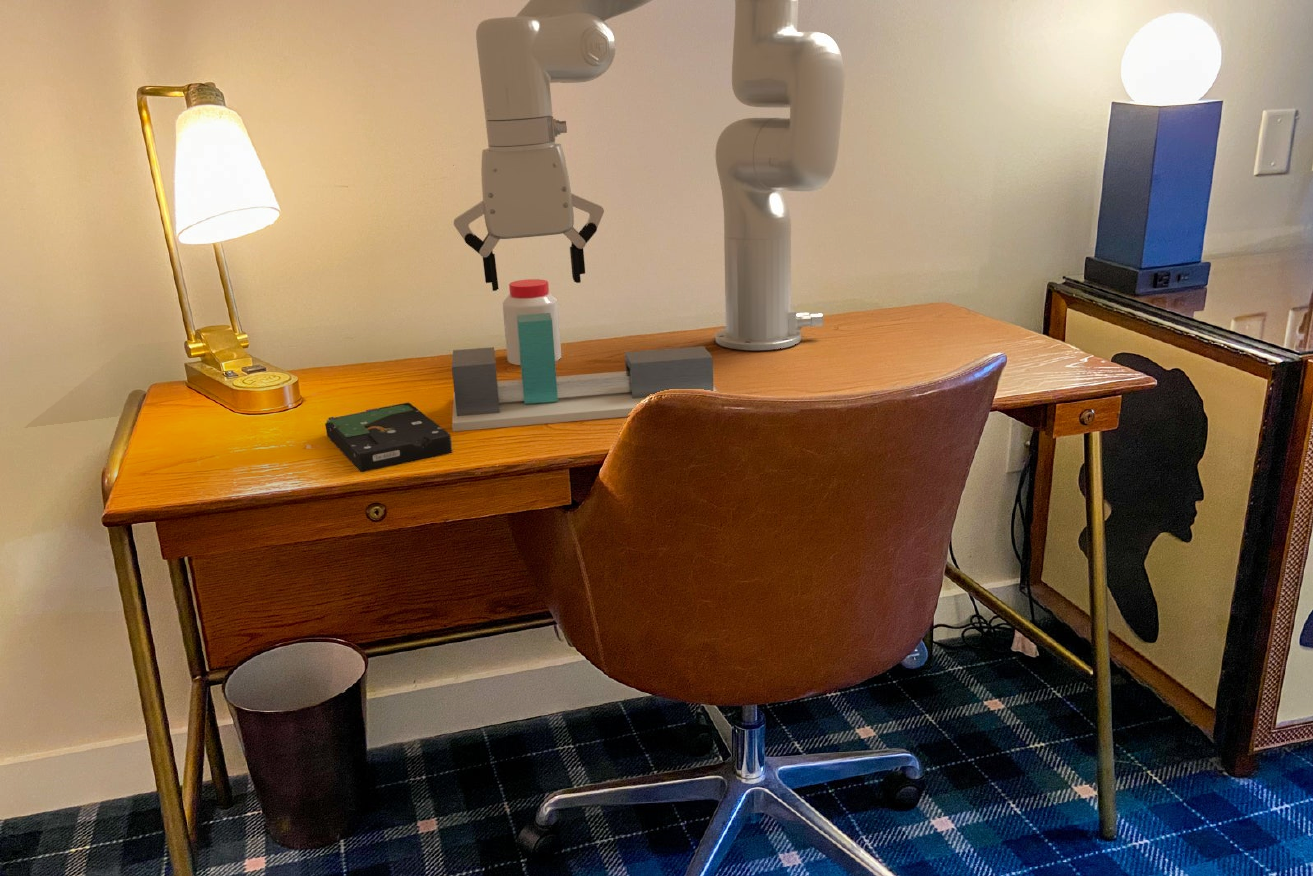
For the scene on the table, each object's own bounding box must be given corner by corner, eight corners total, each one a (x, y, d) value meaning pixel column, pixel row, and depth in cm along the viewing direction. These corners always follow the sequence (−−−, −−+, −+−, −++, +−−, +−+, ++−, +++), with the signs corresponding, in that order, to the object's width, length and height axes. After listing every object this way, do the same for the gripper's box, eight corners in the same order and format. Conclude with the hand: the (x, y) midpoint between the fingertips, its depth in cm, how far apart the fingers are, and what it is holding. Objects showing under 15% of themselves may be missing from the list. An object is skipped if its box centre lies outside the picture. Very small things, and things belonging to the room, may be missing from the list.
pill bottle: (565, 351, 156) (560, 277, 152) (556, 365, 149) (550, 287, 145) (514, 352, 157) (507, 278, 153) (501, 366, 150) (495, 288, 146)
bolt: (647, 384, 134) (643, 306, 130) (651, 393, 130) (648, 312, 127) (478, 398, 131) (470, 318, 127) (478, 407, 127) (470, 325, 124)
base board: (702, 379, 139) (702, 371, 139) (724, 408, 127) (724, 400, 127) (454, 399, 135) (454, 391, 135) (453, 431, 123) (452, 423, 122)
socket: (498, 393, 133) (494, 347, 131) (499, 412, 126) (495, 363, 124) (457, 397, 132) (453, 350, 130) (456, 416, 125) (451, 366, 123)
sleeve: (704, 379, 136) (703, 346, 134) (713, 391, 130) (712, 357, 129) (626, 386, 134) (624, 352, 133) (632, 398, 129) (631, 363, 127)
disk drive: (455, 458, 116) (411, 422, 128) (453, 434, 115) (408, 400, 127) (361, 478, 111) (324, 439, 123) (358, 453, 110) (321, 416, 122)
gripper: (593, 126, 124) (605, 271, 130) (444, 138, 122) (462, 285, 128) (600, 131, 117) (612, 284, 123) (442, 143, 115) (462, 298, 121)
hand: (536, 284), depth 126 cm, fingers open, 9 cm apart
